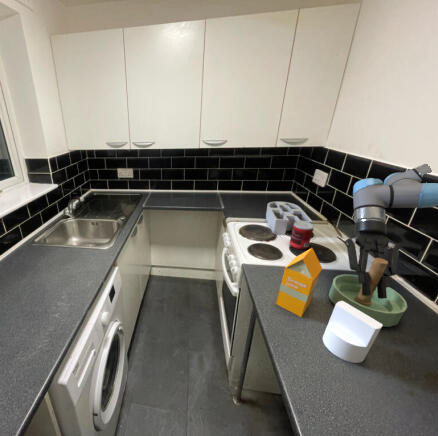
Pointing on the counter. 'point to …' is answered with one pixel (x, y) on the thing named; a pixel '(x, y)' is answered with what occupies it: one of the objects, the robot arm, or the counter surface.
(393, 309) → the bowl
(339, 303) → the base with upright slab
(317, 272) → the orange juice
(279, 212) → the grey compartment organizer
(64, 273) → the counter surface
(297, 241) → the canned food
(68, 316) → the counter surface
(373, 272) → the muddler
